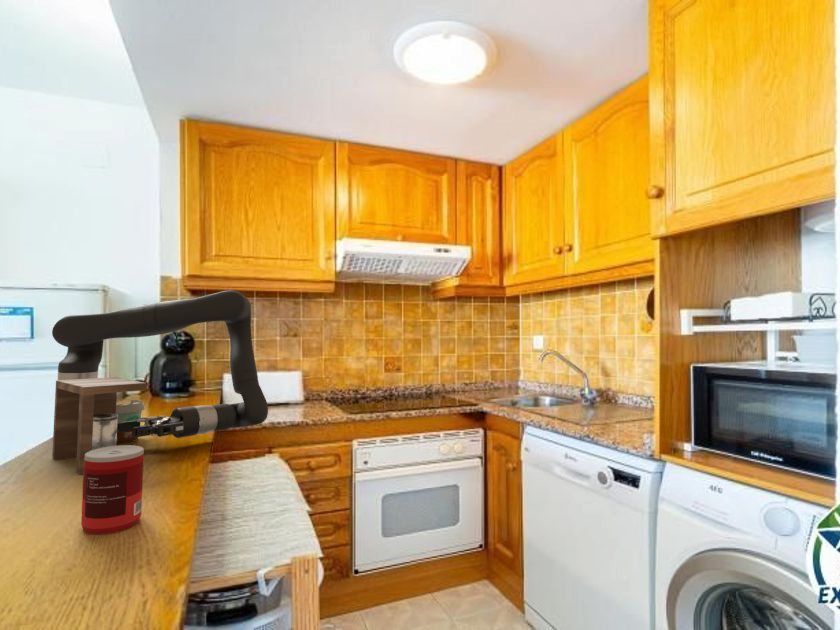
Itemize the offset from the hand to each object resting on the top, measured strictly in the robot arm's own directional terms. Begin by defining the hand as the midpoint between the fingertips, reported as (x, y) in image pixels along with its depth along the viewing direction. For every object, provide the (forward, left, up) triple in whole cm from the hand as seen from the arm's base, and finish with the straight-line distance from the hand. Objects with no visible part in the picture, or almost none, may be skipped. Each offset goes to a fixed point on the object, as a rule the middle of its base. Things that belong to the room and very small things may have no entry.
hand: (125, 430), depth 109 cm
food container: (-16, +7, -6) cm, 18 cm away
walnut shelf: (0, -5, -6) cm, 8 cm away
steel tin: (0, -4, -6) cm, 7 cm away
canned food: (+41, -16, -6) cm, 45 cm away
